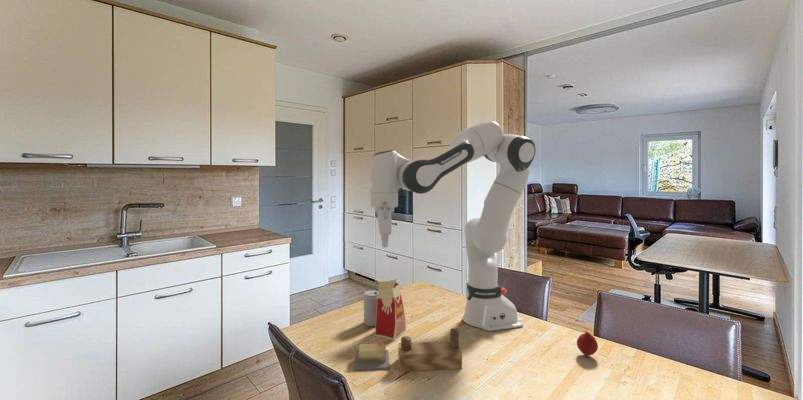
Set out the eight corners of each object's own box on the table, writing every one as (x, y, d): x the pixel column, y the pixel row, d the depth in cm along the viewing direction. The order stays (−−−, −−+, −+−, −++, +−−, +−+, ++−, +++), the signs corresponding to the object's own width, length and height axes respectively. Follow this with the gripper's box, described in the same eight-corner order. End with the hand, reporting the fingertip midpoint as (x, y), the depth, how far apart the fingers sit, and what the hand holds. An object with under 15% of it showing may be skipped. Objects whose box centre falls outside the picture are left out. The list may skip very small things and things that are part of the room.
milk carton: (406, 330, 129) (406, 276, 127) (395, 341, 121) (395, 283, 119) (384, 325, 133) (384, 272, 131) (371, 335, 124) (371, 279, 123)
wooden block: (385, 354, 111) (385, 343, 111) (385, 361, 107) (385, 350, 106) (359, 355, 110) (359, 344, 110) (358, 362, 106) (358, 351, 106)
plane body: (456, 356, 111) (456, 325, 110) (461, 368, 104) (462, 335, 103) (398, 358, 110) (398, 327, 109) (400, 371, 103) (400, 338, 102)
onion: (595, 352, 114) (596, 328, 113) (598, 362, 108) (600, 336, 107) (575, 349, 115) (576, 325, 115) (577, 358, 110) (578, 333, 109)
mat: (388, 351, 114) (388, 349, 114) (389, 369, 104) (389, 367, 104) (356, 352, 113) (356, 350, 113) (355, 370, 103) (355, 368, 103)
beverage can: (380, 327, 131) (380, 295, 130) (362, 327, 131) (362, 295, 130) (381, 320, 137) (381, 289, 136) (364, 320, 137) (364, 289, 136)
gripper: (396, 204, 104) (396, 250, 106) (392, 198, 125) (392, 237, 126) (374, 204, 104) (374, 251, 105) (374, 198, 124) (374, 237, 125)
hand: (384, 243), depth 116 cm, fingers open, 8 cm apart
